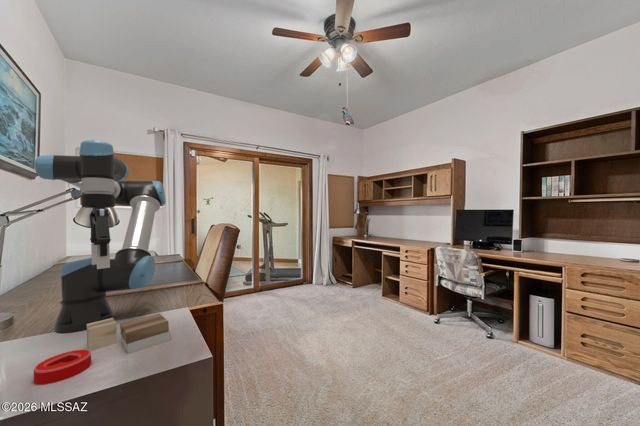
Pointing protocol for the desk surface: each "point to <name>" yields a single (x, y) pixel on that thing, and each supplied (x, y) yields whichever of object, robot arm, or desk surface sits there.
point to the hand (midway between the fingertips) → (100, 266)
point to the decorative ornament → (62, 367)
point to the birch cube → (101, 334)
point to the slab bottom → (146, 342)
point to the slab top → (143, 328)
